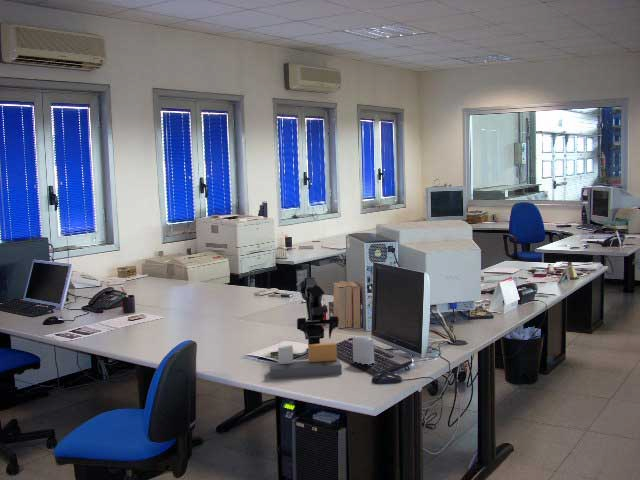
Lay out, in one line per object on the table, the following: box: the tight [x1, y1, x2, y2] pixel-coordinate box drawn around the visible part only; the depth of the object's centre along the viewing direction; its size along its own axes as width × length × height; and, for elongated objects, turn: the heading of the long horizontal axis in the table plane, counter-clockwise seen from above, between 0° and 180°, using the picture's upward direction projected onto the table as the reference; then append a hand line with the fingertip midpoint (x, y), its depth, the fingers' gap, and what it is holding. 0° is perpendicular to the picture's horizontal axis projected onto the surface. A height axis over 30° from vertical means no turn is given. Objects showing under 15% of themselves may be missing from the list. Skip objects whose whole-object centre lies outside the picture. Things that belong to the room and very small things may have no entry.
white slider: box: [277, 345, 294, 364], centre depth 294 cm, size 3×6×7 cm, turn 97°
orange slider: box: [307, 342, 338, 362], centre depth 296 cm, size 3×12×7 cm, turn 97°
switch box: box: [268, 358, 343, 380], centre depth 293 cm, size 10×30×4 cm, turn 97°
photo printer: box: [352, 335, 375, 366], centre depth 304 cm, size 10×4×12 cm, turn 47°
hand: (319, 338), depth 305 cm, fingers open, 9 cm apart
